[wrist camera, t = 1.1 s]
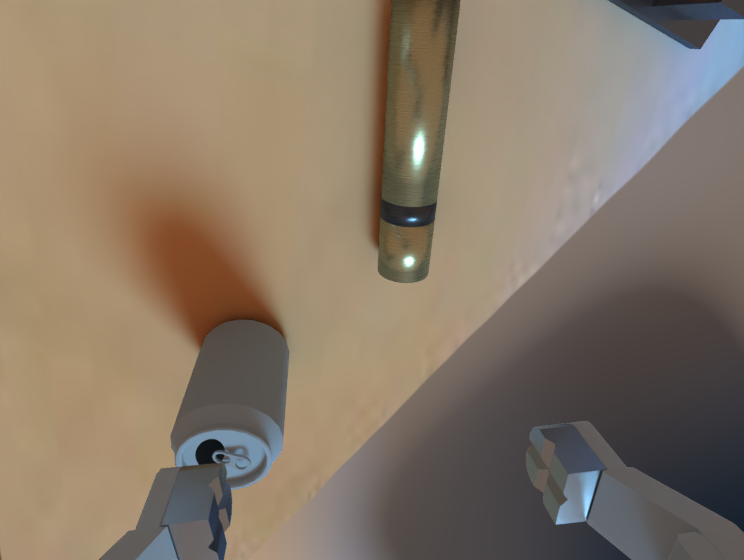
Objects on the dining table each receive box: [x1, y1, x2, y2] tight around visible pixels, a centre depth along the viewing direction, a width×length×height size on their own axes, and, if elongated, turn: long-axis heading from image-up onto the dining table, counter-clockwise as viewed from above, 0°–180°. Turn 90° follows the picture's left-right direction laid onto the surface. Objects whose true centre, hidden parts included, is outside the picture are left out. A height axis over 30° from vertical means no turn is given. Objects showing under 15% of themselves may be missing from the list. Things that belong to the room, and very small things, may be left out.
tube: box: [378, 0, 461, 283], centre depth 30 cm, size 18×4×4 cm, turn 178°
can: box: [171, 319, 289, 490], centre depth 34 cm, size 8×8×12 cm
